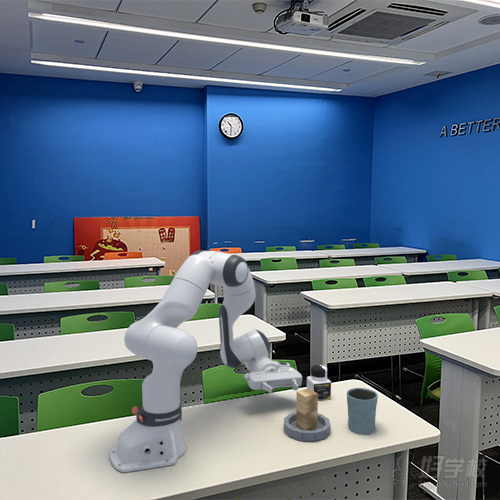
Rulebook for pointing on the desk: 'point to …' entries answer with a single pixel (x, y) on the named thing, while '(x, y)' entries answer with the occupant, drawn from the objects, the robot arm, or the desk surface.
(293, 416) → the bowl
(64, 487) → the desk surface
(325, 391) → the medicine bottle
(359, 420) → the blue-grey cup
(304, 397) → the oak block
